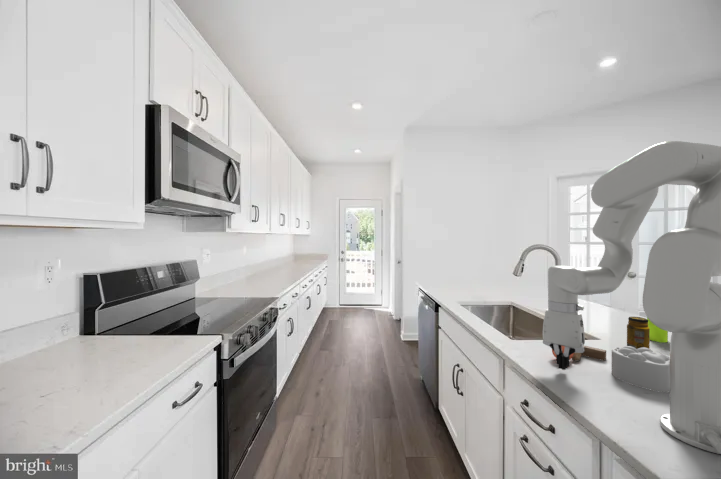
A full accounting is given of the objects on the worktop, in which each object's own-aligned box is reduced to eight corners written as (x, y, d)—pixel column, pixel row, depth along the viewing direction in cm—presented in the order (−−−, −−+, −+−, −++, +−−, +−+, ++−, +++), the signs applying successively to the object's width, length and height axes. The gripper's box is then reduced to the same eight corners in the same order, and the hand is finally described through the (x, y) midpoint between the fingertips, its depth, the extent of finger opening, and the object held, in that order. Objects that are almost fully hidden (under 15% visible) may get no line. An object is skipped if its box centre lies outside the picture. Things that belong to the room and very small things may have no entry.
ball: (574, 346, 104) (580, 357, 99) (560, 356, 107) (565, 368, 101) (559, 335, 105) (564, 345, 99) (545, 345, 107) (549, 356, 102)
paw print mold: (666, 395, 80) (666, 361, 80) (605, 376, 91) (605, 347, 91) (676, 384, 86) (676, 353, 86) (618, 368, 97) (618, 340, 97)
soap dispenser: (642, 339, 124) (642, 289, 124) (651, 336, 127) (651, 287, 127) (661, 343, 119) (661, 291, 118) (670, 341, 121) (670, 289, 121)
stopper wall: (604, 360, 103) (604, 351, 103) (563, 350, 112) (563, 342, 112) (606, 359, 104) (606, 350, 104) (564, 349, 113) (564, 341, 113)
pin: (580, 357, 101) (584, 341, 107) (571, 353, 103) (576, 338, 108) (578, 362, 102) (583, 346, 108) (570, 358, 104) (575, 343, 109)
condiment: (654, 352, 110) (654, 318, 110) (646, 358, 105) (646, 322, 105) (627, 346, 116) (627, 314, 116) (619, 351, 111) (619, 317, 111)
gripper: (596, 309, 90) (596, 372, 91) (540, 301, 102) (540, 357, 102) (589, 313, 86) (589, 380, 86) (531, 304, 97) (531, 363, 97)
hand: (562, 367), depth 94 cm, fingers closed
